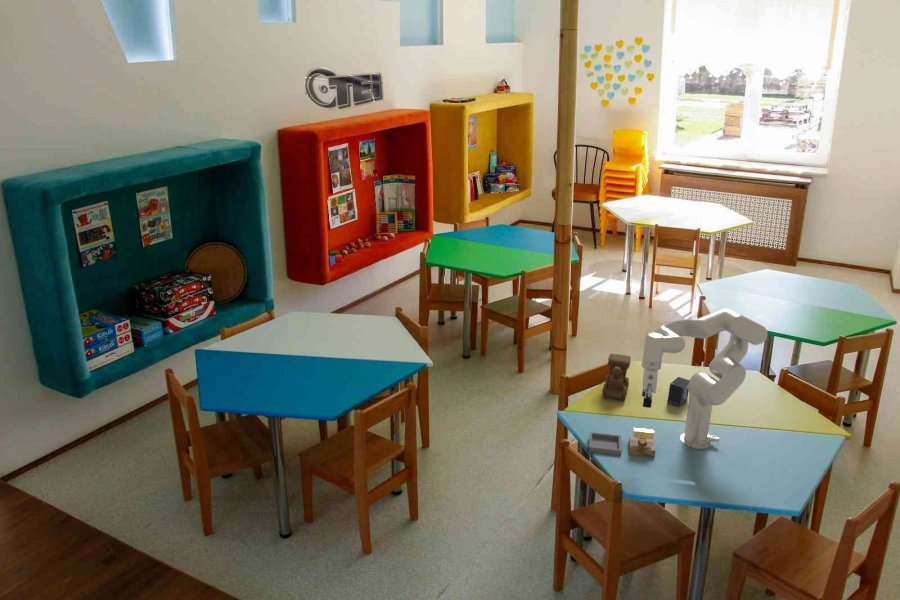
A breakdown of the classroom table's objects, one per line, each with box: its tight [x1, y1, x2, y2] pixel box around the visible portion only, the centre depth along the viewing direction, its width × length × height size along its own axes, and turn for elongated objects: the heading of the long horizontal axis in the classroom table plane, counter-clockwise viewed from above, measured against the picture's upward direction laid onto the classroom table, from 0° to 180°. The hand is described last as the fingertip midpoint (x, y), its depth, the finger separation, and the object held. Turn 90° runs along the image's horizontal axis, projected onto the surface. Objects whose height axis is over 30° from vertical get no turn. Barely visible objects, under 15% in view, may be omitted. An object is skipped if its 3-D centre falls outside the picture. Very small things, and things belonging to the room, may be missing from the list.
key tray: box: [588, 431, 623, 456], centre depth 326 cm, size 13×13×3 cm
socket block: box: [628, 435, 656, 458], centre depth 323 cm, size 10×10×4 cm
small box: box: [666, 376, 690, 408], centre depth 367 cm, size 11×6×10 cm, turn 143°
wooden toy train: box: [602, 353, 632, 402], centre depth 373 cm, size 20×11×17 cm, turn 162°
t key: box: [632, 427, 655, 446], centre depth 322 cm, size 8×2×9 cm, turn 79°
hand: (646, 401), depth 317 cm, fingers open, 9 cm apart
